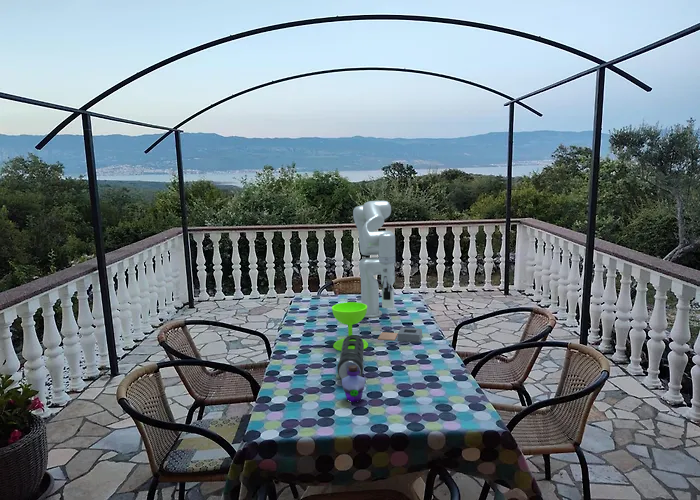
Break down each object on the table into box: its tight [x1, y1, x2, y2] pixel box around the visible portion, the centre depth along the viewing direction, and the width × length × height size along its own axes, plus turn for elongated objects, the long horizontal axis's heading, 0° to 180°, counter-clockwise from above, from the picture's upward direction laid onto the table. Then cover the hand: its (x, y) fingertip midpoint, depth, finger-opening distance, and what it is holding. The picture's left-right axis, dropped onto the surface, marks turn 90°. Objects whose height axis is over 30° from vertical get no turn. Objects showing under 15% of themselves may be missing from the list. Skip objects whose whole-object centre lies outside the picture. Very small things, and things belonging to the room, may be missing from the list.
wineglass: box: [331, 301, 369, 352], centre depth 214 cm, size 16×16×18 cm
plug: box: [381, 286, 395, 309], centre depth 222 cm, size 5×4×9 cm
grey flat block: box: [397, 327, 423, 343], centre depth 221 cm, size 10×9×4 cm
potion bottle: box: [341, 365, 366, 402], centre depth 163 cm, size 9×9×12 cm
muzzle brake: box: [336, 334, 365, 380], centre depth 187 cm, size 10×28×10 cm, turn 177°
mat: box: [377, 331, 398, 342], centre depth 225 cm, size 8×9×1 cm
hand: (387, 297), depth 222 cm, fingers closed on plug, 3 cm apart
